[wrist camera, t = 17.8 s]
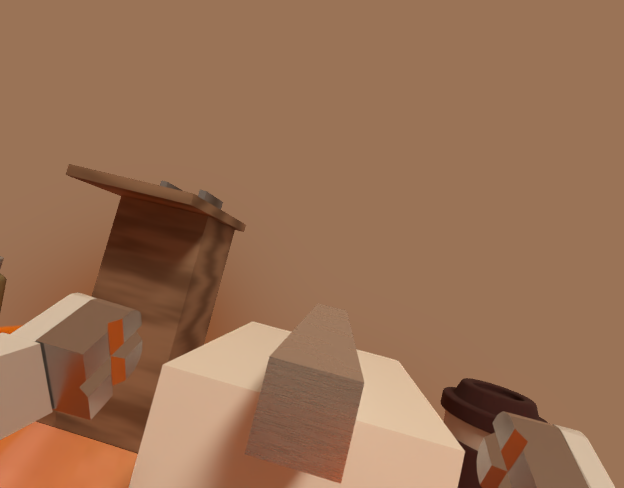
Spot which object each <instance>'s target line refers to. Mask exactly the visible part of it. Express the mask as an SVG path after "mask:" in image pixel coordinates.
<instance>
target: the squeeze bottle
mask: <svg viewBox="0 0 624 488" xmlns="http://www.w3.org/2000/svg"><path fill="white" fill-rule="evenodd" d="M3 259H4V258H3V257H1V256H0V268H1V265H2V262H3ZM5 284H6V278H5V277H4V276H3V275H1V274H0V311H1V306H2V301H3V295H4V290H5Z"/></svg>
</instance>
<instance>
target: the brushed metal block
mask: <svg viewBox="0 0 624 488" xmlns="http://www.w3.org/2000/svg"><path fill="white" fill-rule="evenodd" d="M363 387H364V379H363V374H362V370H361V366H360V362H359V358H358V354H357V350H356V346H355V342H354V338H353V334H352V330H351V326H350V322H349V318H348V314H347V311H345V310H340V309H337V308H333V307H329V306H325V305H322V304H317V305H316V306H315V307H314V308H313V310H312V311H311V312H310V313H309V314H308V315H307V316H306V317H305V318H304V319H303V320H302V321H301V323H300V324H299V325H298V326H297V327H296V328H295V329H294V330H293V331H292V332H291V333H290V334H289V336H288V337H287V338H286V339H285V340H284V341H283V342H282V343H281V344H280V345H279V346H278V348H277V349H276V350H275V351H274V352H273V353H272V354H271V355H270V356H269V360H268V364H267V368H266V372H265V376H264V380H263V384H262V388H261V392H260V395H259V399H258V403H257V407H256V411H255V415H254V419H253V423H252V427H251V431H250V435H249V439H248V442H247V446H246V450H245V454H246V455H249V456H252V457H255V458H259V459H262V460H265V461H268V462H272V463H275V464H278V465H281V466H285V467H288V468H291V469H295V470H298V471H301V472H304V473H308V474H311V475H314V476H317V477H321V478H324V479H327V480H330V481H334V482H337V483H340V484H341V481H342V477H343V473H344V468H345V464H346V460H347V455H348V451H349V447H350V443H351V438H352V434H353V430H354V425H355V421H356V417H357V413H358V408H359V404H360V400H361V395H362V391H363Z"/></svg>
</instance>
